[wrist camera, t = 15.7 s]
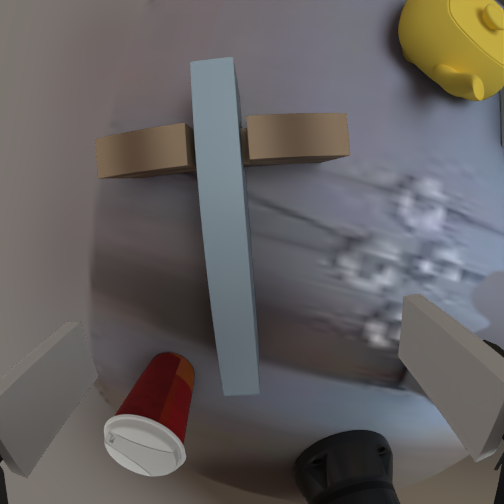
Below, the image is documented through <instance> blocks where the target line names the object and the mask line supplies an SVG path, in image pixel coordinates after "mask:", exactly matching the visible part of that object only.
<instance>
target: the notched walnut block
mask: <svg viewBox="0 0 504 504" xmlns="http://www.w3.org/2000/svg"><path fill="white" fill-rule="evenodd" d="M246 117H247V128H243V129H241V141H242V154H243V167H248V166H262V165H279V164H298V163H321V162H325V161H329V160H333V159H337V158H341V157H345V156H349V155H350V145H349V133H348V123H347V113H298V114H272V115H255V116H246ZM96 159H97V174H98V179H100V178H146V177H153V176H161V175H168V174H177V173H185V172H194V171H197V166H196V153H195V139H194V130H193V129H192V128H191V127H189V126H188V125H187V124H186V123H179V124H172V125H165V126H159V127H153V128H147V129H141V130H136V131H131V132H126V133H121V134H116V135H111V136H106V137H102V138H98V139H96Z"/></svg>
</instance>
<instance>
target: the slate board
mask: <svg viewBox="0 0 504 504" xmlns="http://www.w3.org/2000/svg"><path fill="white" fill-rule="evenodd" d="M190 65H191V88H192V107H193V123H194V139H195V153H196V166H197V178H198V190H199V201H200V212H201V222H202V232H203V242H204V251H205V260H206V269H207V278H208V286H209V294H210V302H211V310H212V318H213V325H214V333H215V340H216V347H217V354H218V361H219V368H220V374H221V381H222V387H223V393H224V396H243V395H260V382H259V342H258V327H257V314H256V302H255V289H254V276H253V263H252V250H251V237H250V224H249V211H248V198H247V185H246V173H245V171H244V167H243V154H242V141H241V129H242V121H241V108H240V95H239V88H238V82H237V77H236V71H235V65H234V59H233V57H228V58H218V59H210V60H202V61H195V62H190Z"/></svg>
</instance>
